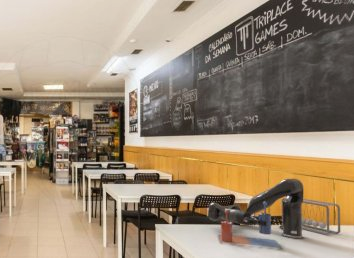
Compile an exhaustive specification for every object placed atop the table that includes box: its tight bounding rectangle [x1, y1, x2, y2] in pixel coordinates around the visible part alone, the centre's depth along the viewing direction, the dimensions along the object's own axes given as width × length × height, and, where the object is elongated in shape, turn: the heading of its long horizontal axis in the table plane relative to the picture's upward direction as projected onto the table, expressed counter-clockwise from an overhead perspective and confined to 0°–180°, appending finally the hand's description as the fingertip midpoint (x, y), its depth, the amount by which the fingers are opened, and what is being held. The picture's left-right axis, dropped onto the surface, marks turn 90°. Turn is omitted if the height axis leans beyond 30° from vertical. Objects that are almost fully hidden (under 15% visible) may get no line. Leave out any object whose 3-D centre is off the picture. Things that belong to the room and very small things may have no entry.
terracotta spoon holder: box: [220, 210, 233, 243], centre depth 182 cm, size 6×6×17 cm
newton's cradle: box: [281, 197, 341, 236], centre depth 214 cm, size 30×10×18 cm, turn 18°
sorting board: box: [218, 233, 282, 249], centre depth 183 cm, size 16×28×1 cm, turn 69°
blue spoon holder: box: [258, 202, 272, 235], centre depth 180 cm, size 6×6×17 cm
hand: (269, 223), depth 178 cm, fingers closed on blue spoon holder, 5 cm apart
